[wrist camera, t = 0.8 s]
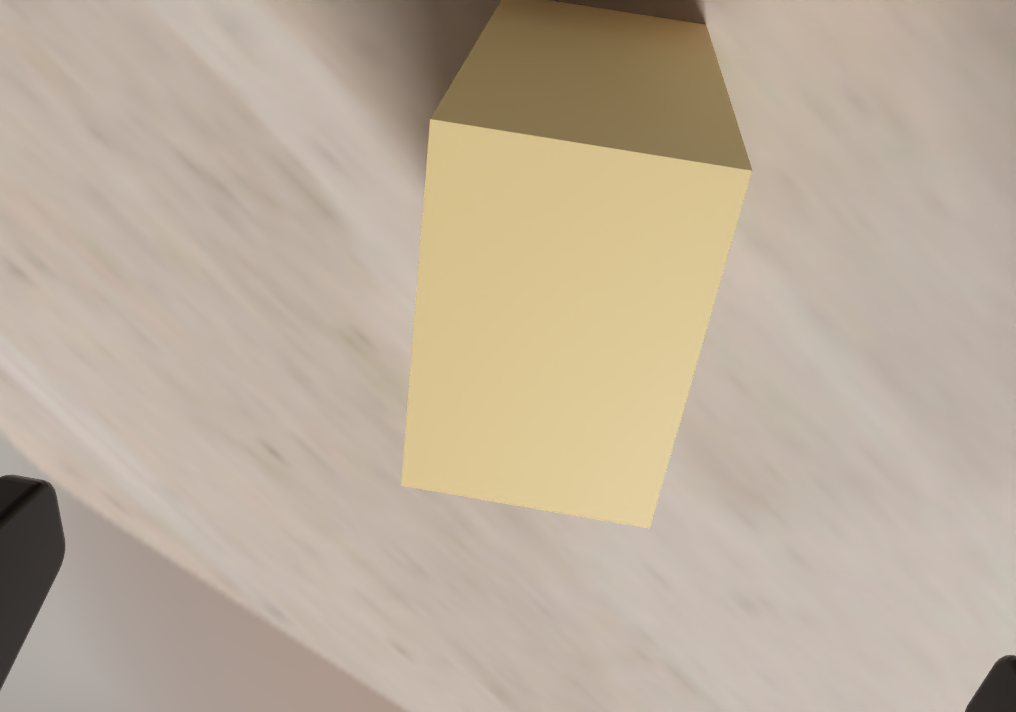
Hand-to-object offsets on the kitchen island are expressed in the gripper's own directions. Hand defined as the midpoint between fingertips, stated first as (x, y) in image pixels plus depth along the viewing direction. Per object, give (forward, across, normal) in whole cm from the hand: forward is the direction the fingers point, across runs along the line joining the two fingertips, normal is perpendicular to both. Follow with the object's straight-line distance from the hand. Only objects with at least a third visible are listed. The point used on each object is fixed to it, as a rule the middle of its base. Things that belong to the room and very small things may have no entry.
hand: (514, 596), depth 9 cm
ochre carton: (+13, 0, 0) cm, 13 cm away
